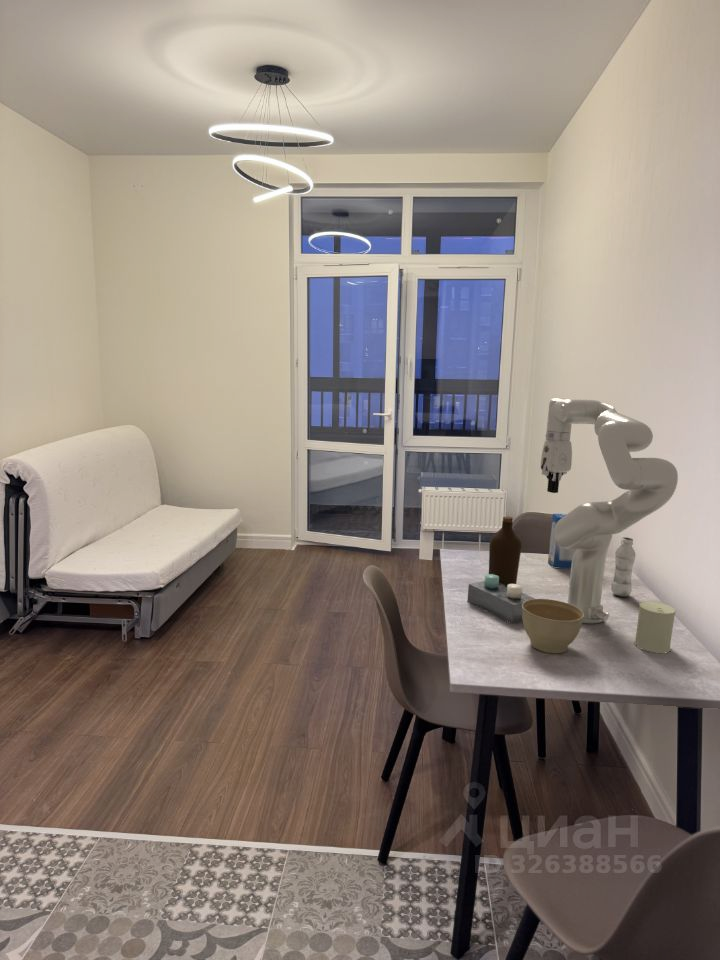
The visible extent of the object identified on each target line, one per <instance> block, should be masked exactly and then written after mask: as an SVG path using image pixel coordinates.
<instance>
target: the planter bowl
mask: <svg viewBox="0 0 720 960" xmlns="http://www.w3.org/2000/svg"><path fill="white" fill-rule="evenodd" d="M522 611H523V612H522V618H523V622H522V624H523V627H524V628H523V629H524V631H525V633H526V635H527V637H528V638H529V640H530V645H531V646H532V647H533V648H535V649H536V650H537V651H540V652H543V653H548V654H561V653H565V652H566V651H567V649H568V646H570V645H571V644H572V643H573V642H574V641H575V639H576V638H577V636H578V635H579V633H580V631H581V628H582V624H583V623H582V620H583V618H584V613H583V612H582V610H580V609H579V608H577V607H575V606H573V605H571V604H568V602H564V601H560V600H556V599H549V598H535V599H531V600H527V601H525V602H524V603H523V604H522Z"/></svg>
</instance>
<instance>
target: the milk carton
mask: <svg viewBox="0 0 720 960" xmlns="http://www.w3.org/2000/svg"><path fill="white" fill-rule="evenodd" d="M567 514H568V513H552V516H551V517H552V519H551V529H550V538H549V547H548V559H547V564H548V563H549V564H548V565H550V567H552V566H553V567H559V568H558V569H571V565H572V559H573V556H574V553H575V551H576V550H577V549H564V548H562V547H560V546H559V545H558V544H557V543H556V542H555V540H554V535H553V533H554V528H555V525H556V524H557V522H558V521H559V520H560V519H561V518H562V517H564V516H565V515H567ZM553 567H552V568H553Z"/></svg>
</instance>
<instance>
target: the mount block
mask: <svg viewBox="0 0 720 960" xmlns="http://www.w3.org/2000/svg"><path fill="white" fill-rule="evenodd" d="M484 582H485V580H483V581H478V582H472V583H468V588H467V600H466V601H467V603H469V604H472V605H473V606H474V607H475V606H476V607H477V608H479V609H481V610H483V611H484V612H487V613H488V614H491V615H492V616H495V617H497V618H499V619H501V620H503V621H505V622H507V621H508V622H507V623H509V622H510V623H509V624H511V623H512V624H511V625H514V624H513V623H515V624H517V623H518V622H519V623H523V622H522V621H523V618H522V612H523V611H522V604H523V603H524V602H525V601H527V600H531V599H536V598H534V597H532V596H530V595H528V594H525V593H523V592H522V596H521V598H517V599H512V598H511V597H508V596H507V586H505V585H503V584H501V583H499V584H498V587H497V588H492V589H490V588H488V587H486V586H485V585H484Z"/></svg>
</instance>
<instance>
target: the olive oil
mask: <svg viewBox="0 0 720 960" xmlns="http://www.w3.org/2000/svg"><path fill="white" fill-rule="evenodd" d="M513 520H514V519H513V517H512V516H502V524H501V528H500V529H499V530H498V531H496V532H495V533H494V534H493V535H492V536H491V538H490V541H489V547H488V548H489V549H488V550H489V551H488V552H489V553H488V557H489V559H488V574H493V575H497V576H499V583H501V584H503V585H505V586H507V585H508V584H517V581H518V574H519V567H520V561H521V560H520V559H521V555H522V554H521V553H522V541H521V539H520V537H519V535H518V534H517V533H516V532H515V530H513Z"/></svg>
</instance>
